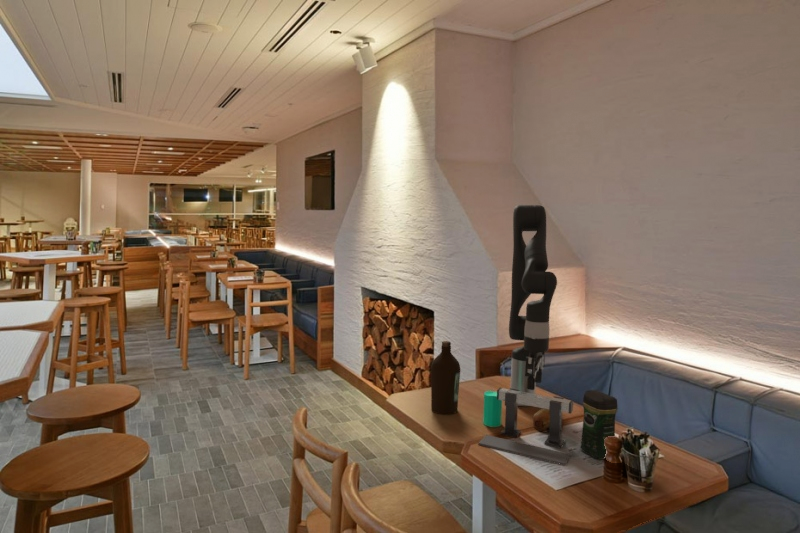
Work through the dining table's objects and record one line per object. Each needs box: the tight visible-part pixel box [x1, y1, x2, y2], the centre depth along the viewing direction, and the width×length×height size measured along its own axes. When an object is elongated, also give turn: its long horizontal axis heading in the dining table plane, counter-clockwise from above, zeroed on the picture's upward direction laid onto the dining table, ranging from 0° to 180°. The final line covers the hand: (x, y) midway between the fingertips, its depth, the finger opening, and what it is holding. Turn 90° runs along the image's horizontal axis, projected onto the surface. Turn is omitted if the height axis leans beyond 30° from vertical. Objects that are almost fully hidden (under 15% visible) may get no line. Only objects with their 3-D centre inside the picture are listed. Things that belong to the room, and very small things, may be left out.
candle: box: [482, 388, 503, 428], centre depth 176 cm, size 6×6×12 cm
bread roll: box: [532, 408, 564, 433], centre depth 175 cm, size 10×10×8 cm
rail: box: [496, 387, 574, 414], centre depth 164 cm, size 3×23×3 cm, turn 61°
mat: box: [478, 434, 571, 466], centre depth 157 cm, size 7×26×1 cm, turn 61°
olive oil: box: [430, 340, 461, 415], centre depth 188 cm, size 11×11×25 cm
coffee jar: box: [580, 389, 618, 460], centre depth 155 cm, size 10×8×19 cm
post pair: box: [500, 387, 566, 449], centre depth 165 cm, size 6×19×14 cm, turn 61°
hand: (534, 385), depth 164 cm, fingers open, 8 cm apart
